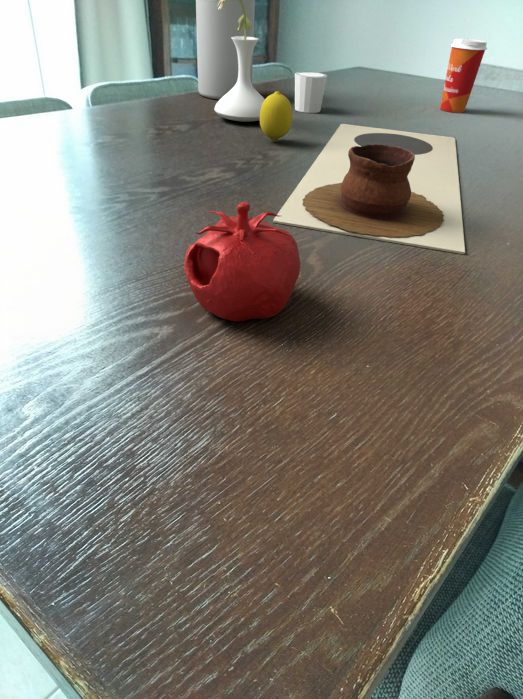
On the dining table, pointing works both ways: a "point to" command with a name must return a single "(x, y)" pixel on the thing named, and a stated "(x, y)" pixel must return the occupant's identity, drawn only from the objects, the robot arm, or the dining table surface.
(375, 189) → the ceramic pot
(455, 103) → the paper cup
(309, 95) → the shot glass
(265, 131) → the lemon
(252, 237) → the red tomato
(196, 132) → the dining table surface
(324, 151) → the cooktop
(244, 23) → the flower in vase
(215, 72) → the cylinder vase
